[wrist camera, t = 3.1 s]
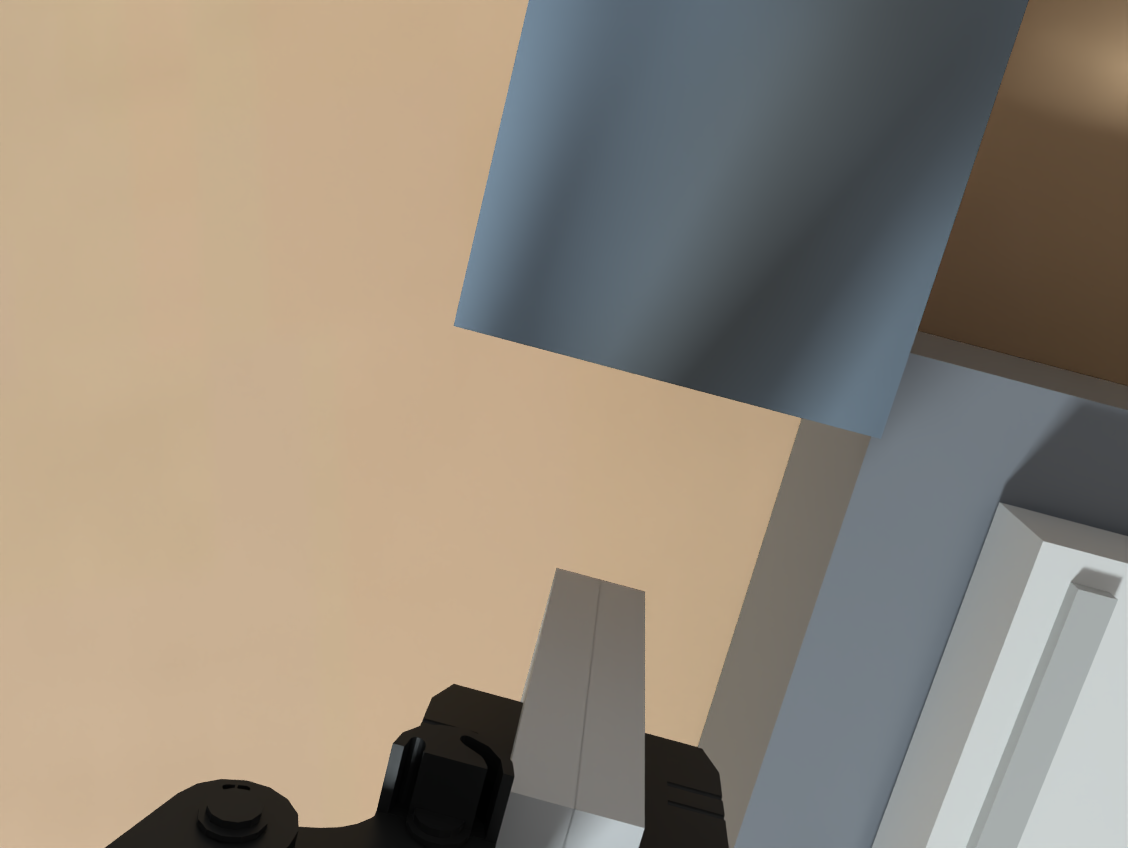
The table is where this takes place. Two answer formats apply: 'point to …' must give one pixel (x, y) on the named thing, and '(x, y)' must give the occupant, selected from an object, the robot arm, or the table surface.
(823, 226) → the plug
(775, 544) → the socket block
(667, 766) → the robot arm
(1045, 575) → the lid
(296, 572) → the table surface
